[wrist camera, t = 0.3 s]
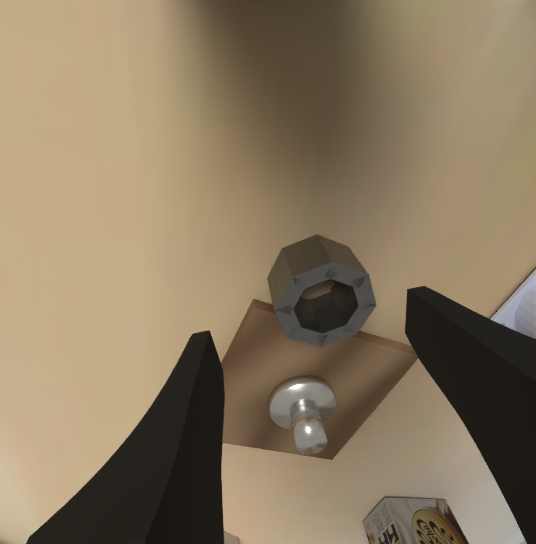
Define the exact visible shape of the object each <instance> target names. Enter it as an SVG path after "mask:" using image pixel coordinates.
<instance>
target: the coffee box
mask: <svg viewBox="0 0 536 544" xmlns="http://www.w3.org/2000/svg"><path fill="white" fill-rule="evenodd" d="M363 525H364V528H365V531H366V534H367V537H368V540H369V543H370V544H469V543H468V541H467V539H466V537H465V536H464V534H463V532H462V530H461V528H460V526H459V524H458V523H457V521H456V519H455V517H454V515H453V513H452V511H451V509H450V508H449V506H448V504H447V502H446V500H445V499H419V498H391V497H385V498H384V499H383V500H382V501H381V502H380V503H379V504H378V505H377V507H376V508H375V509H374V510H373V511H372V512H371V513H370V514H369V515H368V516H367V517H366V519H365V520H364V521H363Z"/></svg>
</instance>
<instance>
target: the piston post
mask: <svg viewBox="0 0 536 544" xmlns="http://www.w3.org/2000/svg"><path fill="white" fill-rule="evenodd" d="M268 401H269V410H270V416H271V418H272V420H273V421H274V422H275V423H276V424H277V425H278V426H280V427H283V428H286V429H291V430H293V432H294V437H295V442H296V447H297V450H298V451H299V452H300V453H302V454H315V453H318V452H320V451H322V450H323V449H324V448H325V447H326V446H327V438H326V435H325V432H324V428H323V425H322V422H324V421H325V420H327V419H328V418H329V417H330V416H331V414H332V413H333V412H334V409H335V406H336V400H335V397H334V394H333V391H332V388H331V386H330V384H329V383H328V382H327V381H326V380H324V379H323V378H320V377H318V376H313V375H299V376H294V377H291V378H288V379H286V380H284V381H282V382H281V383H279V384H278V385H277V386H276V387H275V388H274V389H273V390H272V392H271V393H270V396H269V400H268Z"/></svg>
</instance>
